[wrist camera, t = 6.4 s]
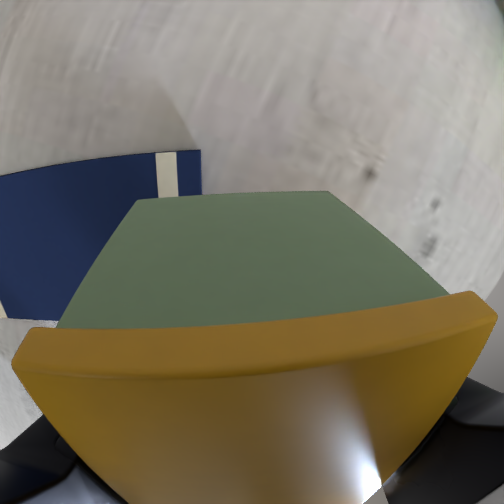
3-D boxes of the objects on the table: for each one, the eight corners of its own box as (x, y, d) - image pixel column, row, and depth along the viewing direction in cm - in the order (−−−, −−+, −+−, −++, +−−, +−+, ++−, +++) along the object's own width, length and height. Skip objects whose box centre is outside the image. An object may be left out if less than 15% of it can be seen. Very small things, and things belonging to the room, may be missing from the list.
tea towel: (209, 316, 22) (209, 319, 22) (-9, 314, 20) (-11, 317, 19) (200, 149, 17) (200, 150, 17) (-49, 189, 14) (-52, 190, 14)
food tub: (310, 370, 12) (360, 506, 6) (168, 382, 11) (164, 531, 6) (335, 183, 8) (502, 314, 3) (128, 192, 8) (6, 363, 2)
